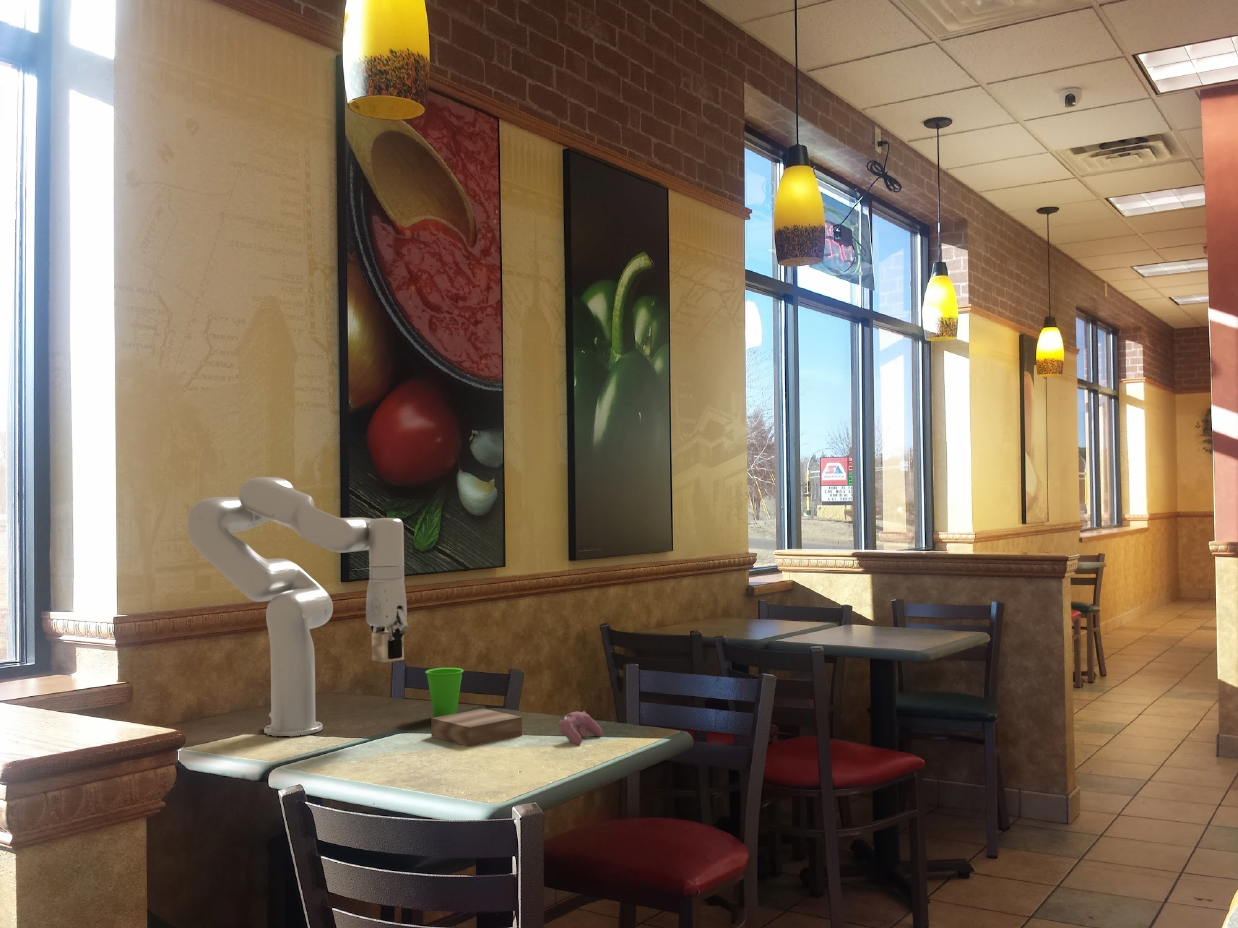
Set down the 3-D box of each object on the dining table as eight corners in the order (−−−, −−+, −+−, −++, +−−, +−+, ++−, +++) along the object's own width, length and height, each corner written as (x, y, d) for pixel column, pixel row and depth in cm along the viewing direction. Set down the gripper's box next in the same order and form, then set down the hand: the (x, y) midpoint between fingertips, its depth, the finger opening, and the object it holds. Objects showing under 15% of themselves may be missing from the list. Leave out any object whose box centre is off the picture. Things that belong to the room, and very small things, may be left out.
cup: (457, 721, 256) (457, 673, 256) (420, 720, 257) (419, 673, 258) (469, 713, 265) (468, 667, 265) (432, 713, 266) (432, 667, 267)
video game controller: (589, 741, 240) (576, 711, 242) (605, 734, 238) (592, 703, 240) (564, 751, 231) (551, 720, 233) (581, 743, 229) (567, 712, 231)
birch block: (372, 659, 243) (371, 632, 243) (391, 657, 246) (391, 630, 246) (384, 662, 239) (383, 634, 239) (404, 659, 243) (403, 632, 243)
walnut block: (431, 736, 241) (431, 717, 241) (483, 726, 250) (483, 708, 250) (469, 746, 231) (469, 727, 231) (522, 735, 240) (521, 716, 240)
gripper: (351, 573, 247) (352, 655, 246) (393, 576, 234) (394, 662, 234) (381, 571, 252) (382, 651, 251) (423, 574, 240) (424, 658, 239)
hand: (388, 656), depth 243 cm, fingers closed on birch block, 4 cm apart
